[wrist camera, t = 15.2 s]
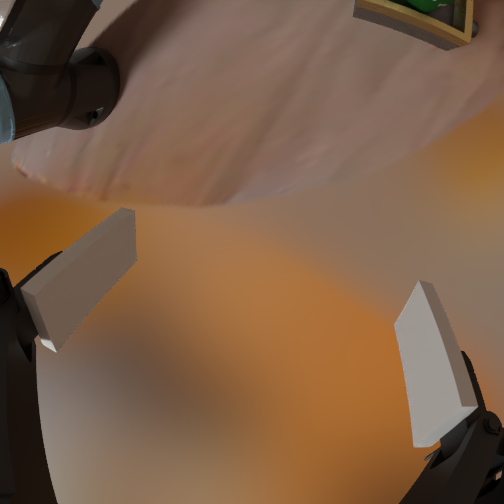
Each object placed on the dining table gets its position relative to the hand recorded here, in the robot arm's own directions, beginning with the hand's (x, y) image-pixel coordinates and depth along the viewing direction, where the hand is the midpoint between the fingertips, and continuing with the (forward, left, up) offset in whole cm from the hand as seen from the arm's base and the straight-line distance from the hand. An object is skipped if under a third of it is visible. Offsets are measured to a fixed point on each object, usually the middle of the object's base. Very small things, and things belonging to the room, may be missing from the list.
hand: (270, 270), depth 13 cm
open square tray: (+11, +28, -31) cm, 44 cm away
